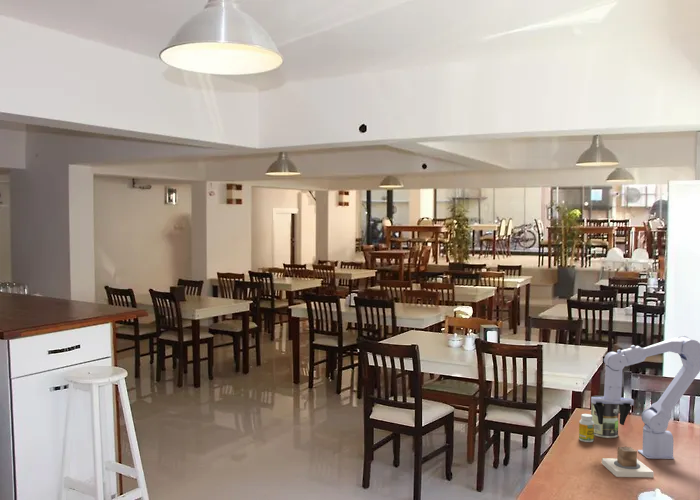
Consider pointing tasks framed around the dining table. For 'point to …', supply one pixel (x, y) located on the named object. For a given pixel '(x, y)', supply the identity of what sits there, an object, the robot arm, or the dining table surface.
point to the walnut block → (627, 456)
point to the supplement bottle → (586, 428)
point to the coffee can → (606, 420)
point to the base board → (627, 469)
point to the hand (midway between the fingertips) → (611, 423)
